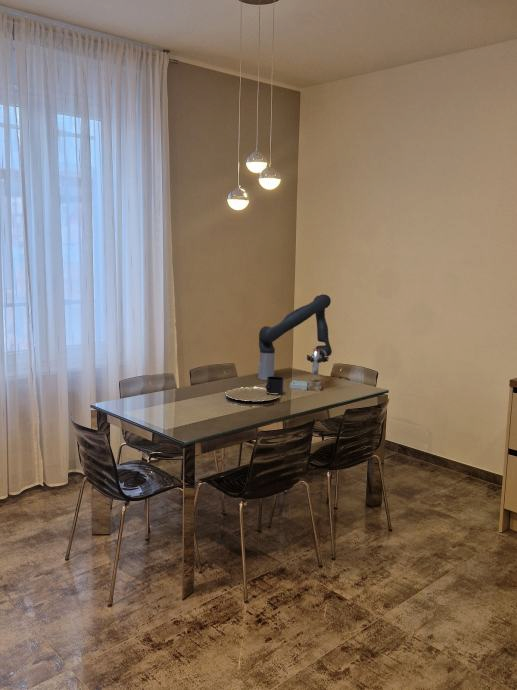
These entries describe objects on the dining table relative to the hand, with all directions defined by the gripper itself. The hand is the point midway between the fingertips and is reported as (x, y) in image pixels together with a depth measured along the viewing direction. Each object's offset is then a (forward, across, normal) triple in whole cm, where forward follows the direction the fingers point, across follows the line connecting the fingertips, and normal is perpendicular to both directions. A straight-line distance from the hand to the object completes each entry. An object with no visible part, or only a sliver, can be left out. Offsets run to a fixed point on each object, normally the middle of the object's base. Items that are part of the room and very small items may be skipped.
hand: (315, 361), depth 367 cm
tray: (-3, -9, +18) cm, 20 cm away
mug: (+17, -21, +18) cm, 32 cm away
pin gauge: (-3, 0, +8) cm, 9 cm away
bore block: (-3, 0, +18) cm, 18 cm away
